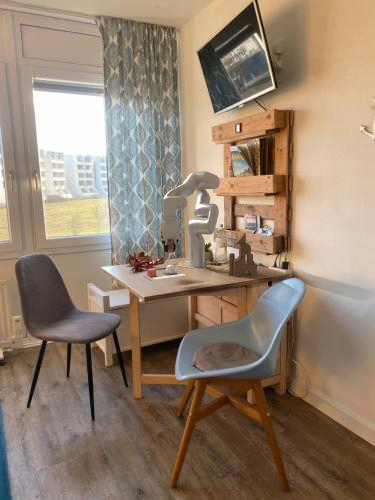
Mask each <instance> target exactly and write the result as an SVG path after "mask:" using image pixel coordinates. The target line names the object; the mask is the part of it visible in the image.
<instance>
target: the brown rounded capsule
mask: <svg viewBox="0 0 375 500" xmlns="http://www.w3.org/2000/svg"><path fill="white" fill-rule="evenodd" d="M167 245H168V252H166V253H168V254H172V253H175V252H174V241H173V239H170V240H168V242H167Z"/></svg>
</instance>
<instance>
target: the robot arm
mask: <svg viewBox="0 0 375 500" xmlns="http://www.w3.org/2000/svg"><path fill="white" fill-rule="evenodd" d="M220 184H221V180H220V178H219V176H218V175H217V174H214V173H212V172H209V171H206V170H205V171H204V170H202V171H193V172H190V173H189V175H188V176H187V177H186V178H185V180H184V181H183V182H182V184H179V185H177V186H176V187H174V188H172V189H170V190H169V191H168V192H167V193H166V194H165V195H164V197H163V198H162V221H161V223H160V227H159V228H160V229H159V230H160V231H159V237H158V241H159V242H161V244H162V245H163V250H164V252H165V253H167V252H168V245H167V242H168V240H170V239H173V241H174V252H173V253H175V252H176V250H177V244H178V242H180V240H182V237H181V236H180V229H179V222H178V220H179V216H177V211H179V210H184V209H185V208H187V206H188V200H187V198H186V197H189V196H192V195H193V194H194V193H195V191H196V195H197V197H196V200H195V201H196V202H195V205H194V210H193V215H194V216H195V218H193V219H190V220H189V221H188V223H187V231H188V235H189V265H188V267H191V268H202V269H204V270H206V268H207V269H208V265H211V264H212V260H211V261H210V260H206V250H205V247H206V243H205V242H206V241H205V238H204V236H203V235H207V236H208V235H213V234H214V232H215V230H216V228H217V223H218V217H219V214H220V213H219V212H220V211H219V209H220V208H219V206H218V205H217V204H215V203H210V202H211V196H210V194H209V192H208V191H207V190H215V189H218V188H219V187H220Z"/></svg>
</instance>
